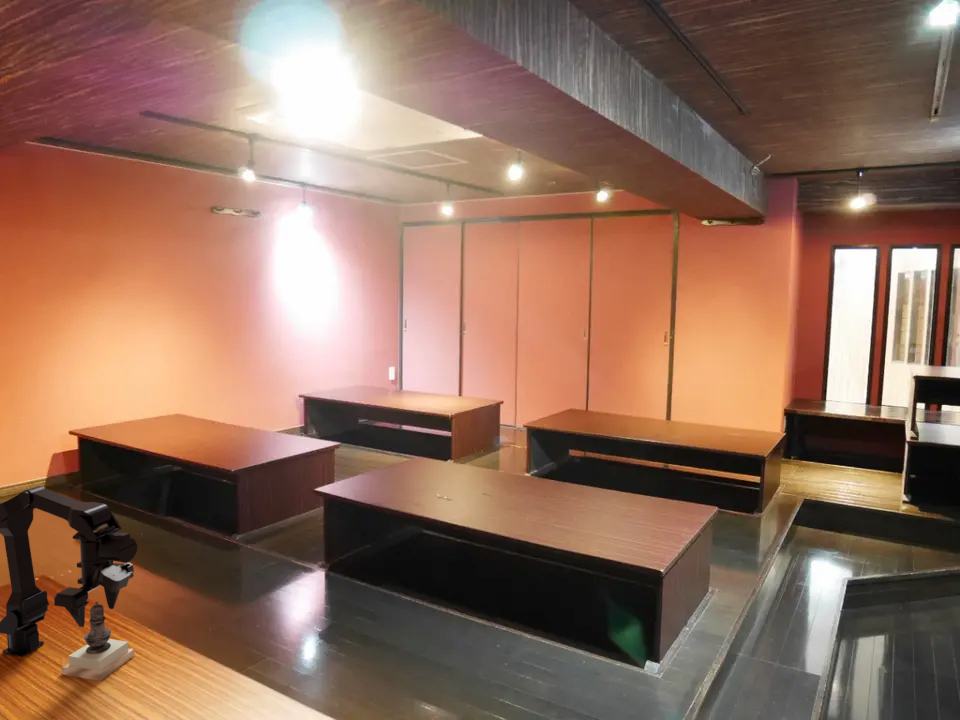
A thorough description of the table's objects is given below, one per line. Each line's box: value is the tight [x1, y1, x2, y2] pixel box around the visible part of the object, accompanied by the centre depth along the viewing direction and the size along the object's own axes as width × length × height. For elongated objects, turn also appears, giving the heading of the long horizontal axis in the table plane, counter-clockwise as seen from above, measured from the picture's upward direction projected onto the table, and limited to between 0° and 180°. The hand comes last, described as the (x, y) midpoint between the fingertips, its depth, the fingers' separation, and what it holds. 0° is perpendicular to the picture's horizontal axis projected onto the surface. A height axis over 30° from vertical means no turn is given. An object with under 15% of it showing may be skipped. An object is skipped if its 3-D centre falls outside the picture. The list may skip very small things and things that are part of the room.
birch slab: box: [61, 647, 135, 682], centre depth 158 cm, size 11×11×2 cm
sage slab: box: [68, 638, 129, 671], centre depth 158 cm, size 9×9×2 cm
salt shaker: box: [83, 601, 112, 654], centre depth 158 cm, size 6×6×12 cm
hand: (97, 617), depth 157 cm, fingers open, 9 cm apart
